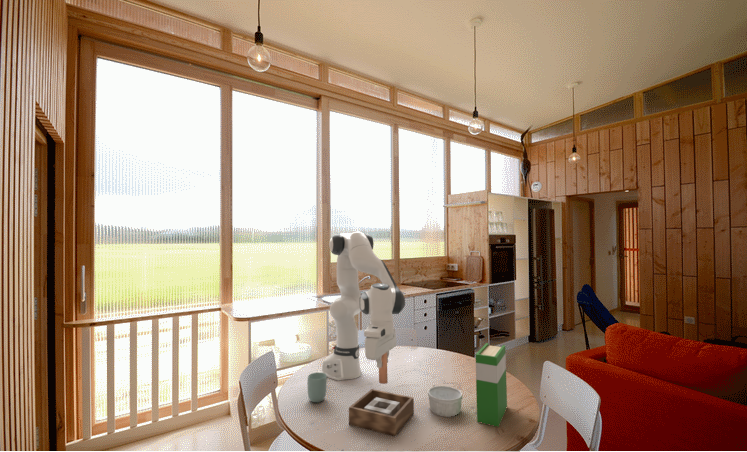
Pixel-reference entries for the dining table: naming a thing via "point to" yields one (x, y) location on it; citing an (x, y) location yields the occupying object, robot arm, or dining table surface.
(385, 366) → the peg
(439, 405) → the ramekin
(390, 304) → the robot arm
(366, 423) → the box
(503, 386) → the hardback book
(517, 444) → the dining table surface
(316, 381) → the cup
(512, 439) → the dining table surface
